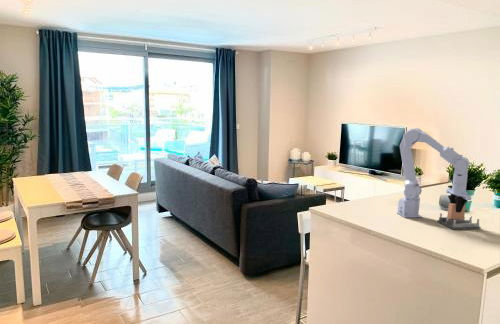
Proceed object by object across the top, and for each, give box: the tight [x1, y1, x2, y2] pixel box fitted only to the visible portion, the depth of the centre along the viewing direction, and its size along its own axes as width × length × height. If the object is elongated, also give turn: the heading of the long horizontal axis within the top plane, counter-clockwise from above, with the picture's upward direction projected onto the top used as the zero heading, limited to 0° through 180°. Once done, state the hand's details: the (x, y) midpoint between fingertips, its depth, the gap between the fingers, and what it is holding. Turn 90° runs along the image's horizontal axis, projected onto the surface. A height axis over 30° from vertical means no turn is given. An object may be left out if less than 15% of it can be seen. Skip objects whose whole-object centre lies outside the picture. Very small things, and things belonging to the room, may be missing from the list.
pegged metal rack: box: [436, 213, 481, 231], centre depth 178 cm, size 14×11×4 cm
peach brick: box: [447, 203, 466, 219], centre depth 179 cm, size 7×2×7 cm, turn 99°
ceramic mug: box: [438, 194, 450, 211], centre depth 207 cm, size 11×8×8 cm
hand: (456, 211), depth 179 cm, fingers closed on peach brick, 2 cm apart
